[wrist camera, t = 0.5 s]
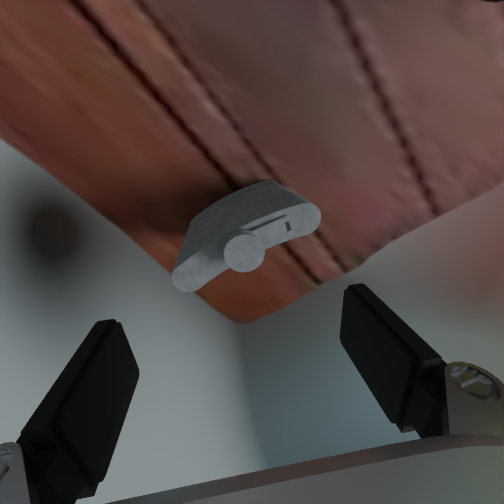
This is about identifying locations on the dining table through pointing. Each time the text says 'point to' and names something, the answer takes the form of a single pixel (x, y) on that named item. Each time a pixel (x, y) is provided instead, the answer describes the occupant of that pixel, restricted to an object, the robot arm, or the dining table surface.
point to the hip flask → (241, 232)
